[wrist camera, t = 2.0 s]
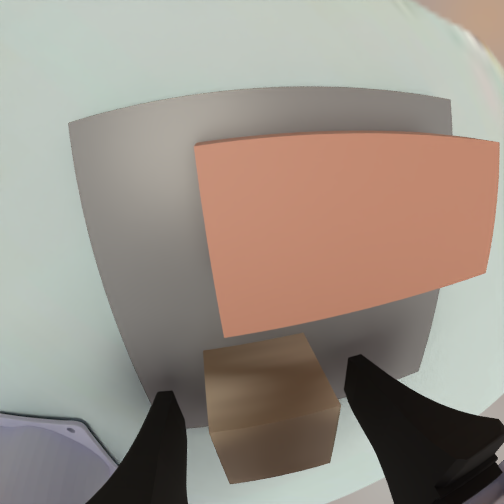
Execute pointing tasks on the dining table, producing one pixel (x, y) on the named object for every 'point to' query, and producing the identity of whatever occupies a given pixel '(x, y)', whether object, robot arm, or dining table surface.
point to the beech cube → (269, 408)
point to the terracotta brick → (341, 220)
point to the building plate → (194, 234)
